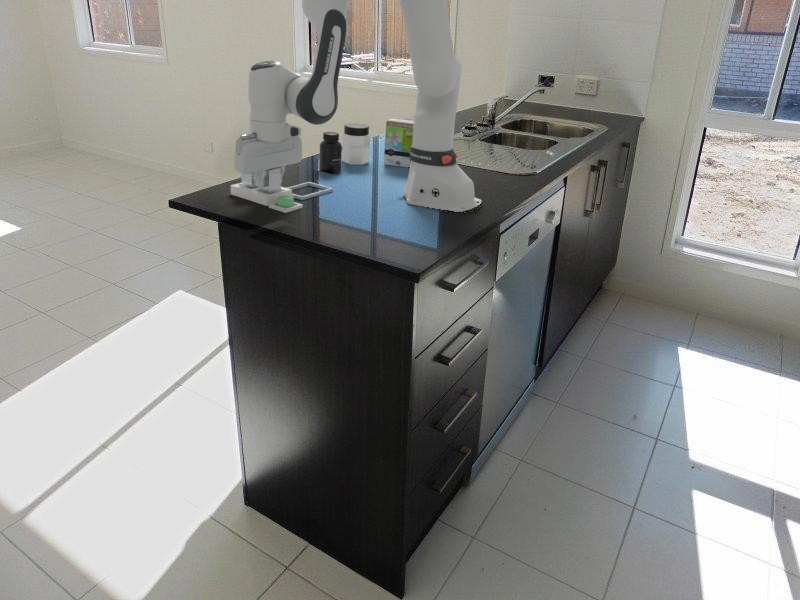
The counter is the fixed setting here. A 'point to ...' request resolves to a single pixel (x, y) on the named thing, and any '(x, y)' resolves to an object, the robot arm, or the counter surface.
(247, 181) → the block
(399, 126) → the tea box
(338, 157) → the supplement bottle
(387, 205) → the counter surface
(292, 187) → the tote
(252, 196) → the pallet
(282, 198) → the button
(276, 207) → the button housing
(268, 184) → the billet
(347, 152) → the jar
